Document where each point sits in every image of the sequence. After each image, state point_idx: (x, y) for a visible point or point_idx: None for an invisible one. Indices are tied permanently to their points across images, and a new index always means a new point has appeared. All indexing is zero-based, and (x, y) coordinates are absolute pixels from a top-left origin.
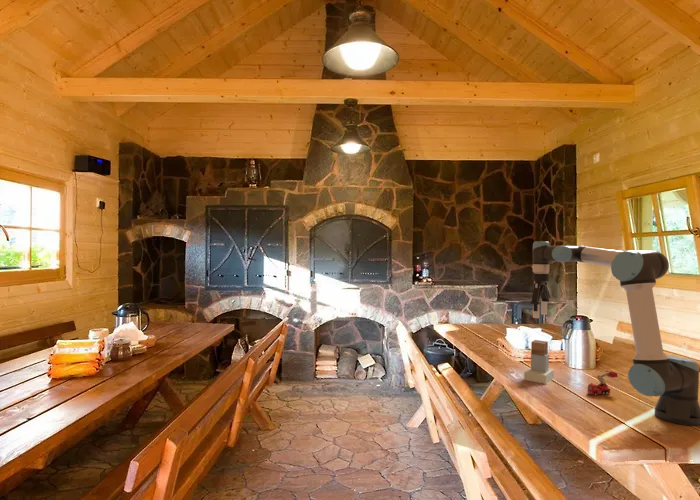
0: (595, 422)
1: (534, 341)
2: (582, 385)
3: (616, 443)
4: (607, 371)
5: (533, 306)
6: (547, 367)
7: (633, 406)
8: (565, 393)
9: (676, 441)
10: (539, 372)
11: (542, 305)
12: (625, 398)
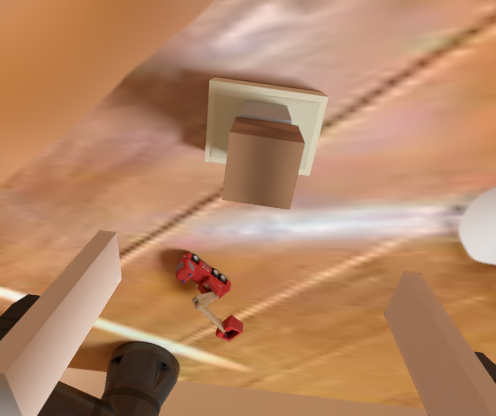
0: (6, 265)
1: (252, 146)
2: (258, 239)
3: None
4: (225, 326)
5: (7, 339)
6: None
7: (160, 319)
8: (153, 207)
9: None
10: (228, 136)
11: (451, 377)
12: None
